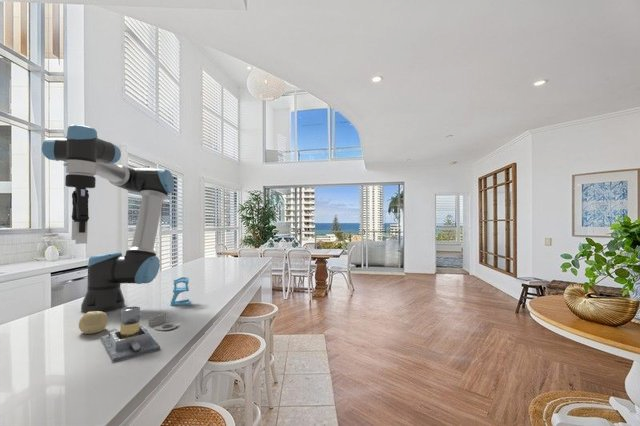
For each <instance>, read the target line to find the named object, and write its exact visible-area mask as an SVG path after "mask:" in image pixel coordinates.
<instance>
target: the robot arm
mask: <svg viewBox="0 0 640 426" xmlns="http://www.w3.org/2000/svg"><path fill="white" fill-rule="evenodd" d="M41 153H42V154H43V156H44V157H45V158H46V159H47V160H51V161H56V162H59V161H61V162H64V163H63V166H64V167H65V173H66V175H65V179H64V180H65V182H64V183H65V184H64V185H65V186H66V187H67V188H74V190H73V192H72V193H71V199H72V200H71V201H72V202H71V205H72V212H71V219H72V220H71V241H74V242H75V245H80V244H83V245H84V244H85V245H86V244H88V226H89V225H88V222H89V219H90V217H89V198H90V193H89V190H88V189H95V188H96V177H95V176H98V177H100V178H103V179H105V180H107V181H108V182H109V183H110V184H111V185H113V186H116V187H118V188H121V189H123V190H126V191H129V192H134V193H139V195H140V196H141V197H142V199H141V202H140V207H139V211H138V216H137V219H136V225H135V229H134V232H133V233H134V234H133V238H132V242H131V247H130V248H128V249H126V252H125V255H123V253H122V252H121V251H120V252H119V251H118V252H116V251H115V252H110V253H107V252H106V253H100V254H95V255H94V254H93V255H92V256H90V257H89V259H88V261H87V262H88V263H87V284H86V285H87V286H86V287H87V288H86V289H87V290H86V292H85V295H84V298H83V299H82V300H83V301H82V302H81V306H80V310H81V312H83V313H87V312H92V311H101V312H104V313H106V312H110V311H115V310H118V309H120V308H121V309H122V308H123V307H124V306H125V304H126V302H125V297H124V294H123V292H122V289H121V288H122V287H121V284H136V285H142V284H150V283H151V282H153V281H154V280H155V279H156V277H157V275H158V273H159V270H160V266H161V265H160V259H159V257H158V256H157V253H156V251H155V248H154V247H155V242H156V239H157V233H158V229H159V223H160V218H161V213H162V207H163V202H164V201H166V200H167V199H168V195H171V194H173V192H174V191H175V180H174V176H173V174H172V173H171V171H170V170H168V169H166V168H165V169H164V168H146V167H145V168H144V167H143V168H141V167H128V166H124V165H121V164H116V163H118V162H119V161H120V159H121V157H122V151H121V149H120V147H118V146H117V145H116V144H114V143H112V142H110V141H106V140H105V139H104V140H103V139H101V138H99V137H98V132H97V130H96V129H95V128H94V127H91V126H87V125H80V124H71V125H69V126H68V127H67V131H66V137H65V138H58V137H56V138H47V139H45V140H43V142H42V144H41Z"/></svg>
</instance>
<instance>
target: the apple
mask: <svg viewBox="0 0 640 426" xmlns="http://www.w3.org/2000/svg"><path fill="white" fill-rule="evenodd" d="M107 325H108V315H107V313H106V312H101V311H92V312H84V314H83V315H82V316H81V318H80V319H79V321H78V329H79V332H82V333H83V334H87V335H92V334H96V333H99V332H102V331H103V330H104V329H106V327H107Z"/></svg>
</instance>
